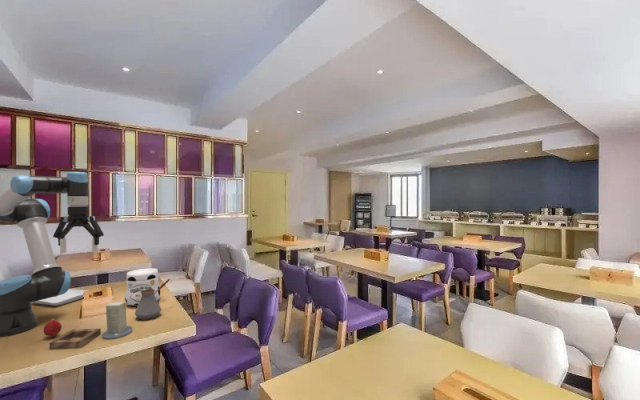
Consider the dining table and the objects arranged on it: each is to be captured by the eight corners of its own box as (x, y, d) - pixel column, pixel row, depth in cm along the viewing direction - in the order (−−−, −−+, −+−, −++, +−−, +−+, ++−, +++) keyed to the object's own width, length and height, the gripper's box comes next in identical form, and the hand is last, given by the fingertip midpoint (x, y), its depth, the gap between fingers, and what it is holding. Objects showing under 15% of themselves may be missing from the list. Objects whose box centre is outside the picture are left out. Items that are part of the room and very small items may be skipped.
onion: (40, 341, 128) (40, 322, 128) (48, 335, 133) (48, 316, 133) (57, 339, 129) (56, 320, 129) (64, 333, 135) (64, 315, 135)
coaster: (96, 339, 128) (96, 337, 128) (112, 328, 139) (111, 326, 139) (123, 338, 129) (123, 336, 129) (137, 327, 140) (137, 325, 140)
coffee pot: (148, 322, 146) (148, 291, 146) (129, 320, 149) (128, 289, 149) (179, 306, 167) (179, 279, 166) (161, 304, 169) (161, 277, 169)
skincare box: (127, 329, 136) (126, 301, 136) (120, 333, 132) (119, 305, 132) (113, 328, 137) (112, 301, 136) (106, 333, 132) (105, 305, 132)
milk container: (136, 310, 161) (135, 276, 161) (118, 305, 169) (117, 272, 169) (166, 301, 176) (166, 269, 175) (149, 296, 184) (148, 266, 184)
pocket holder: (49, 349, 121) (49, 342, 121) (71, 335, 133) (71, 329, 133) (81, 347, 122) (81, 341, 122) (100, 334, 134) (100, 328, 134)
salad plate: (28, 305, 172) (28, 299, 172) (69, 293, 192) (69, 288, 192) (55, 309, 166) (55, 302, 166) (94, 296, 186) (94, 290, 186)
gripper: (42, 206, 134) (43, 254, 135) (101, 205, 136) (102, 253, 136) (55, 206, 142) (56, 251, 142) (111, 205, 144) (112, 250, 144)
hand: (79, 252), depth 139 cm, fingers open, 13 cm apart
